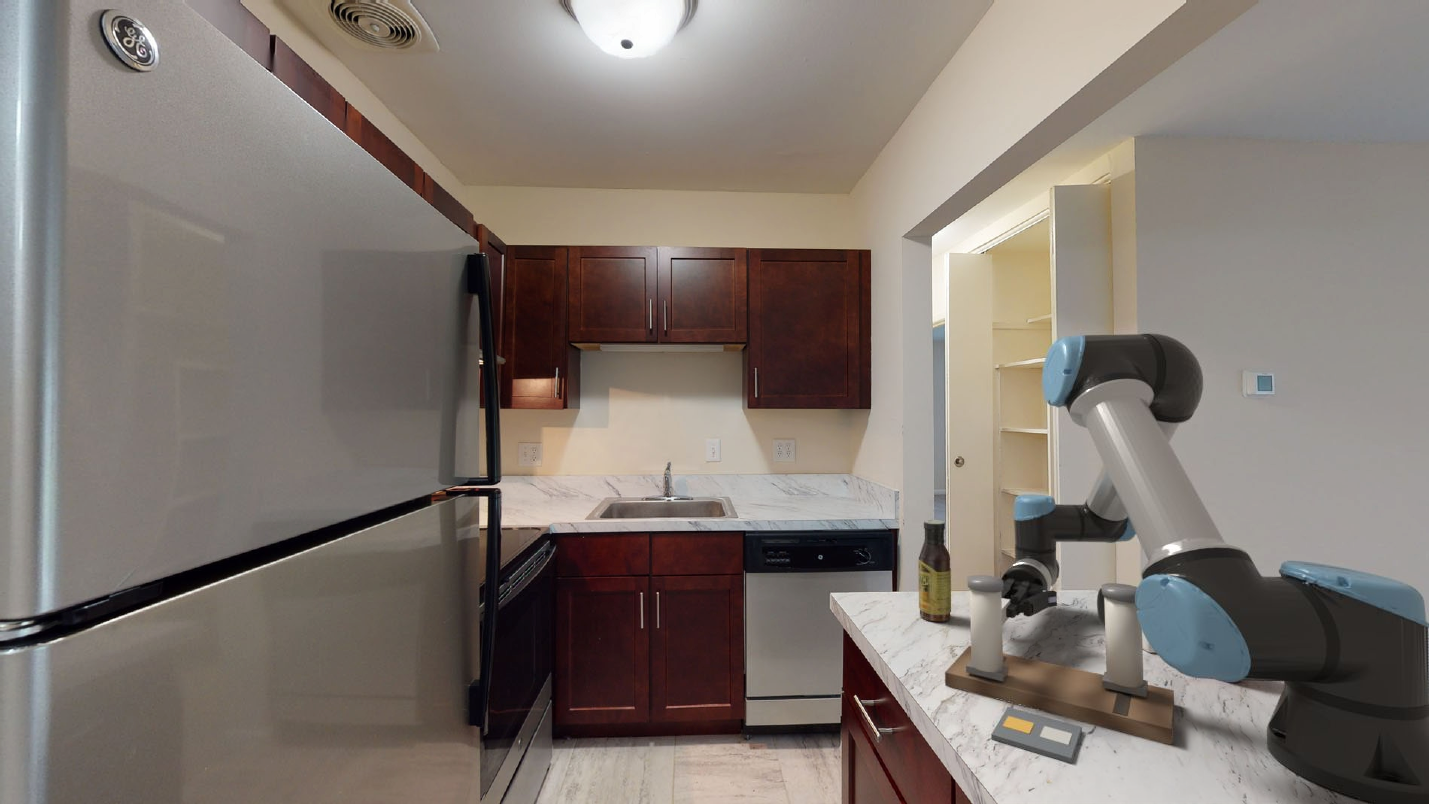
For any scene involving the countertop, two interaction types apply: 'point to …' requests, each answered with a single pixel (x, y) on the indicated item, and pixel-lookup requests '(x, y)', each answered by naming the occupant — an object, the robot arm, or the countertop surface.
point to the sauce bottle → (934, 574)
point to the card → (1038, 734)
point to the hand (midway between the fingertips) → (996, 617)
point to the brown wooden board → (1072, 695)
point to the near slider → (1123, 641)
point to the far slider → (986, 627)
